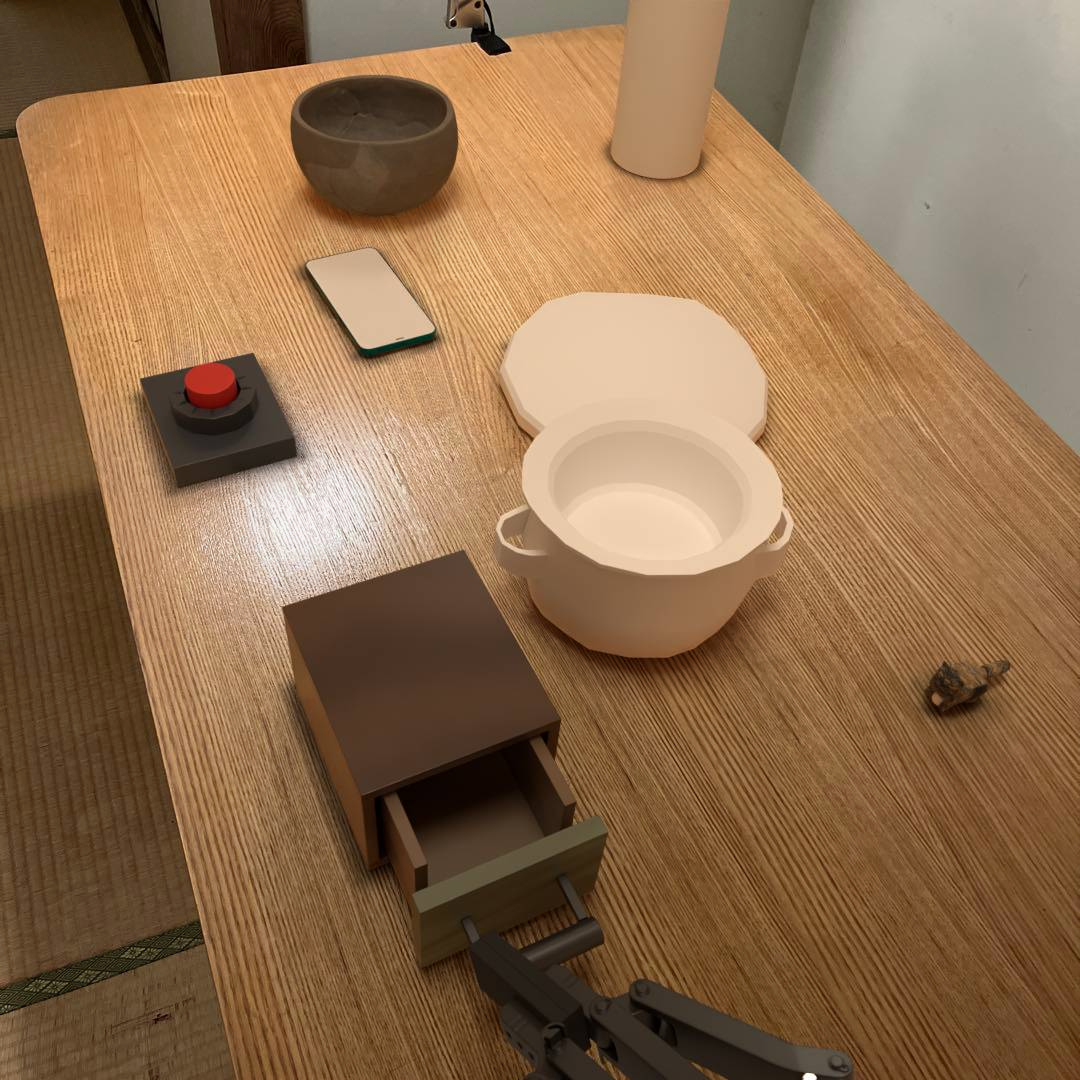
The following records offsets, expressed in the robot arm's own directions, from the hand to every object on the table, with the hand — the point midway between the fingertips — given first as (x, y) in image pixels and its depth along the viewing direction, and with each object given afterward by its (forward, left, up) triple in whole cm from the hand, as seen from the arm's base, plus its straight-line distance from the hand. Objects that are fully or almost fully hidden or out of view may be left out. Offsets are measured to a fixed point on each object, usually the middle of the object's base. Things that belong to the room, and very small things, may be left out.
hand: (485, 958), depth 52 cm
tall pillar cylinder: (+60, +83, -12) cm, 104 cm away
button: (0, +55, -9) cm, 56 cm away
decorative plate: (+36, +46, -12) cm, 60 cm away
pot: (+24, +25, -13) cm, 37 cm away
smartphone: (+18, +67, -12) cm, 71 cm away
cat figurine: (+42, +7, -13) cm, 45 cm away
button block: (0, +55, -12) cm, 57 cm away
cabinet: (+4, +19, -12) cm, 23 cm away
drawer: (+4, +9, -11) cm, 15 cm away
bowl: (+26, +86, -13) cm, 91 cm away
